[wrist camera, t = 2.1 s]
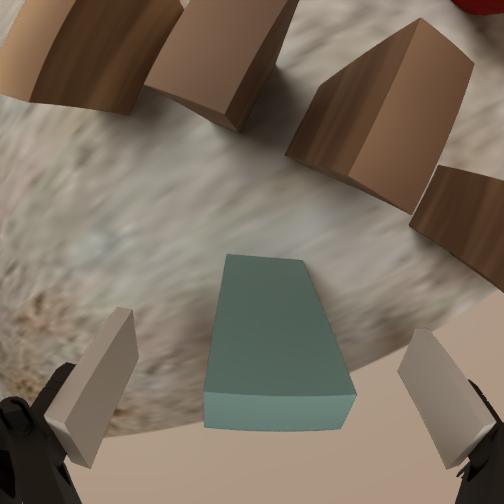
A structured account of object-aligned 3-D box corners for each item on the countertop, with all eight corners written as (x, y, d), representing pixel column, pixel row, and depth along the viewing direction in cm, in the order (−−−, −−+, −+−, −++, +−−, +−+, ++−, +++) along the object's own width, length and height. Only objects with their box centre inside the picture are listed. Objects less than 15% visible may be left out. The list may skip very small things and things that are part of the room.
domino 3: (284, 154, 18) (347, 175, 6) (319, 85, 16) (421, 17, 5) (313, 169, 18) (411, 215, 7) (347, 101, 16) (474, 63, 5)
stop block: (92, 103, 16) (-14, 89, 7) (145, 0, 14) (79, -75, 4) (128, 115, 17) (28, 102, 7) (183, 9, 14) (135, -78, 5)
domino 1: (209, 120, 17) (143, 84, 6) (245, 51, 15) (242, -67, 4) (239, 133, 17) (224, 114, 6) (275, 64, 16) (316, -43, 4)
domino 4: (408, 224, 19) (527, 308, 8) (438, 164, 18) (573, 204, 6) (426, 237, 20) (540, 320, 8) (455, 179, 18) (583, 226, 7)
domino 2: (297, 287, 21) (340, 429, 10) (224, 281, 21) (204, 427, 9) (302, 260, 20) (356, 394, 9) (226, 254, 20) (203, 391, 9)
